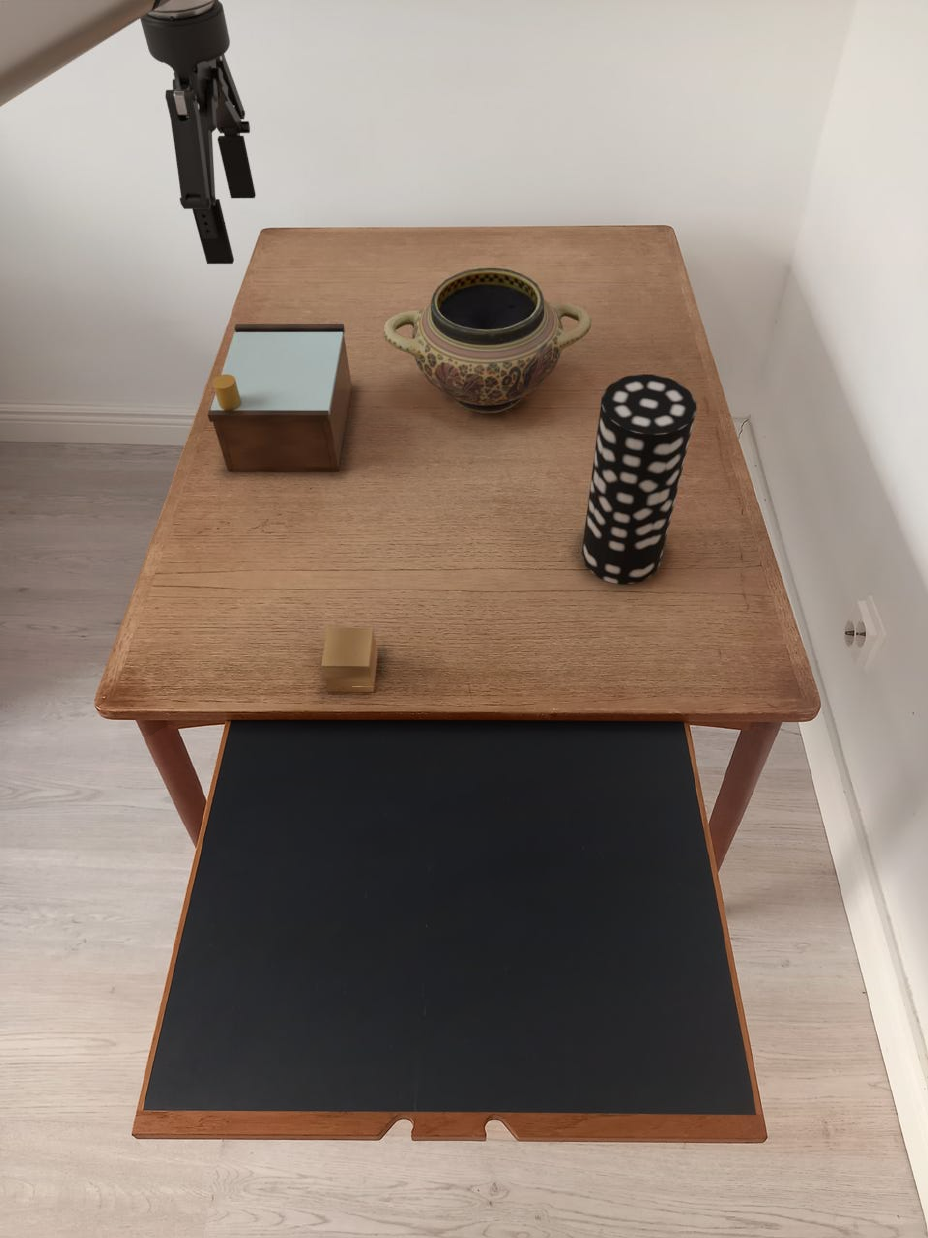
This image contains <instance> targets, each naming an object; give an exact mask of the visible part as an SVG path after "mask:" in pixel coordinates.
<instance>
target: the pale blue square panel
mask: <svg viewBox="0 0 928 1238" xmlns="http://www.w3.org/2000/svg"><path fill="white" fill-rule="evenodd" d="M344 337H345V333H344V334H343V332H235V331H234V332H233V335H232V339H231V341H230V346H229V349H228V352H227V354H226V358H225V362H224V364H223V368H222V372H221V374H220V375H218V376H216V377H214V379H213V380H212V386H213V389H214V393H215V395H214V397H213V400H212V404H211V407H210V410H328V413H329V415H330V410H331V404H332V399H333V393H334V388H335V382H336V377H337V371H338V365H339V360H340V354H341V349H342V343H343V338H344Z"/></svg>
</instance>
